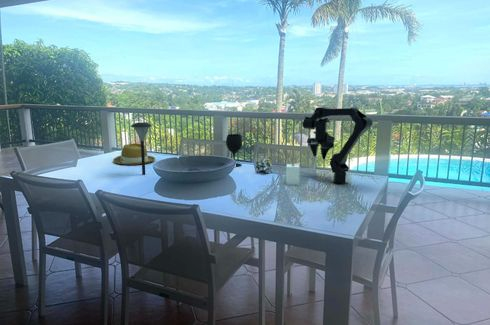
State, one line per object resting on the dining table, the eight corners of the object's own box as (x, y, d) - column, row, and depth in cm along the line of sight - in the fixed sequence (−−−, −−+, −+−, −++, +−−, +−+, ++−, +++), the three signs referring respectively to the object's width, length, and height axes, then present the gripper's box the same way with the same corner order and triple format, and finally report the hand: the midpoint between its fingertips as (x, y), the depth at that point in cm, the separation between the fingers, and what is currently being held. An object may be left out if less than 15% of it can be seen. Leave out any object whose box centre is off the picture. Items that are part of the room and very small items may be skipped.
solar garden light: (157, 172, 219) (155, 122, 213) (150, 177, 207) (148, 124, 201) (137, 171, 220) (135, 121, 214) (129, 176, 208) (126, 123, 202)
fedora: (144, 156, 269) (143, 140, 267) (162, 162, 247) (161, 145, 245) (107, 160, 253) (106, 143, 250) (123, 168, 231) (122, 149, 228)
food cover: (298, 181, 200) (298, 163, 198) (298, 184, 194) (299, 165, 192) (285, 181, 201) (286, 162, 199) (286, 184, 195) (287, 165, 192)
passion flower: (268, 182, 221) (267, 169, 212) (252, 177, 224) (250, 164, 215) (275, 169, 227) (275, 155, 218) (259, 164, 231) (258, 151, 222)
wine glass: (235, 167, 234) (235, 136, 230) (222, 165, 240) (222, 135, 236) (245, 165, 242) (245, 134, 238) (232, 163, 248) (232, 133, 244)
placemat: (302, 187, 189) (302, 187, 189) (275, 185, 194) (275, 184, 194) (309, 178, 210) (309, 177, 209) (285, 175, 214) (285, 175, 214)
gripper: (343, 131, 197) (341, 160, 201) (323, 127, 214) (322, 154, 218) (325, 132, 193) (323, 161, 197) (307, 128, 210) (305, 155, 214)
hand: (319, 157), depth 206 cm, fingers open, 9 cm apart
